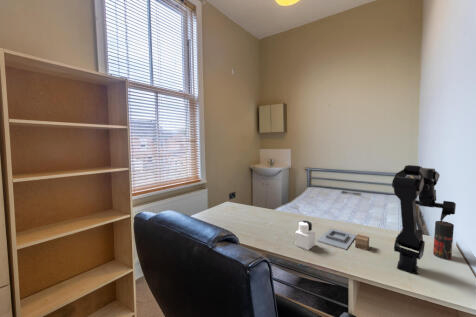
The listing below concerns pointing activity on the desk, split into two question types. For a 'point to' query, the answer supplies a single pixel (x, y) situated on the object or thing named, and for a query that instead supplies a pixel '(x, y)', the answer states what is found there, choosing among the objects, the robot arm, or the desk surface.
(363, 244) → the walnut block
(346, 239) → the base
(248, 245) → the desk surface
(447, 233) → the deodorant
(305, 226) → the medicine bottle
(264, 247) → the desk surface
